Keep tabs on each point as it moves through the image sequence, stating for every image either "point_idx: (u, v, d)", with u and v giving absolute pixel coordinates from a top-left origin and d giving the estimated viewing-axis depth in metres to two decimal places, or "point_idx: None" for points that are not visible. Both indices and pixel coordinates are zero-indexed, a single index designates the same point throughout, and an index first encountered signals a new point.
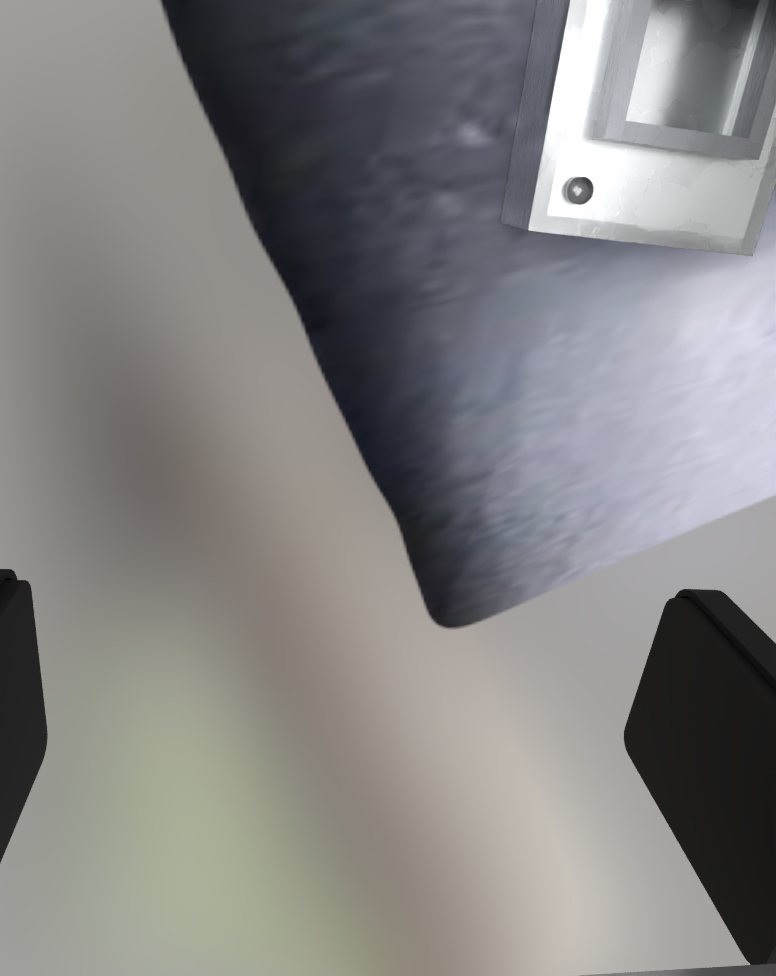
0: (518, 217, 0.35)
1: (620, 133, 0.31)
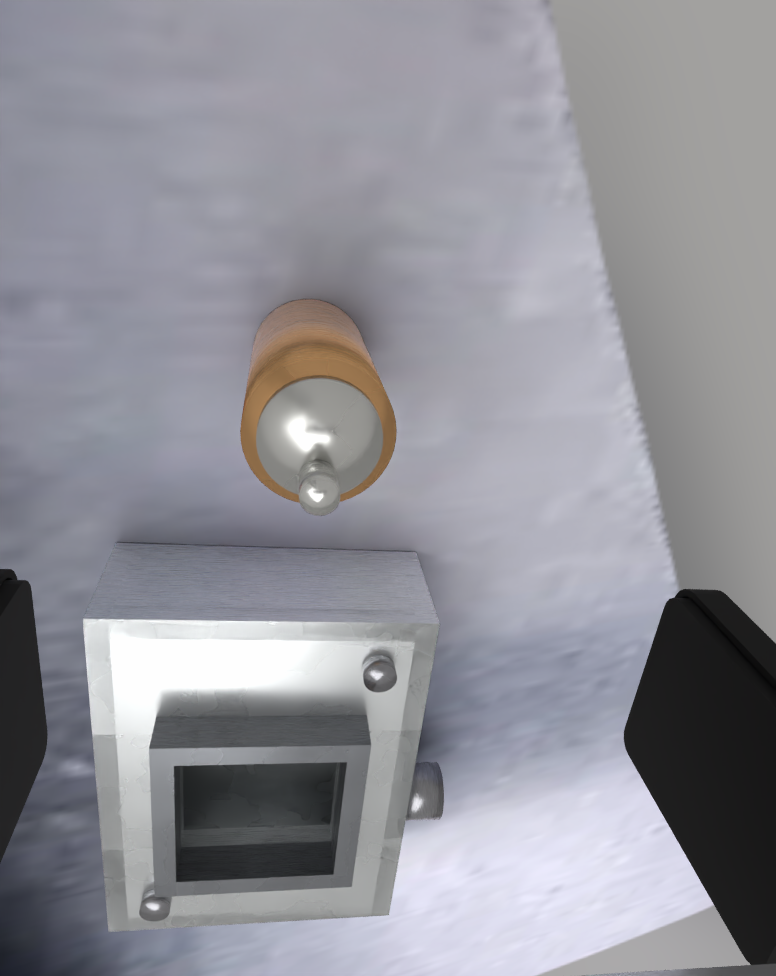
0: None
1: (173, 891, 0.27)
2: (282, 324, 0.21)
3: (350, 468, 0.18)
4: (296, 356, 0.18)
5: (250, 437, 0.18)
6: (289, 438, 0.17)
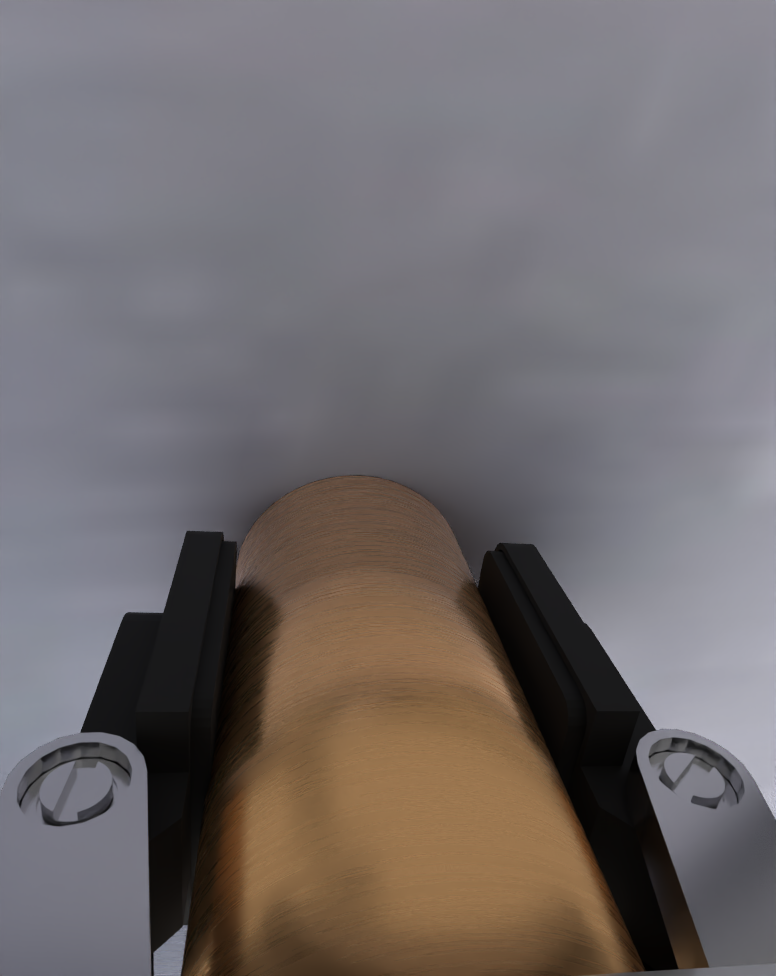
0: None
1: None
2: (299, 592, 0.09)
3: None
4: (357, 916, 0.05)
5: None
6: None
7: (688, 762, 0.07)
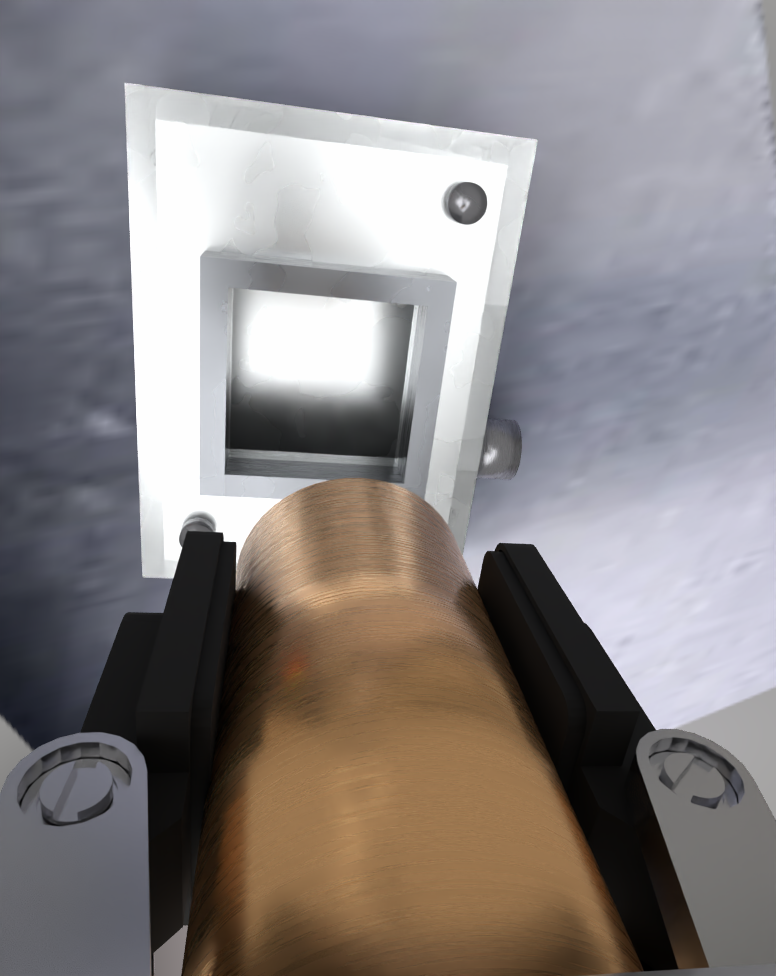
0: None
1: (220, 488, 0.23)
2: (299, 595, 0.09)
3: None
4: (357, 924, 0.05)
5: None
6: None
7: (688, 762, 0.07)
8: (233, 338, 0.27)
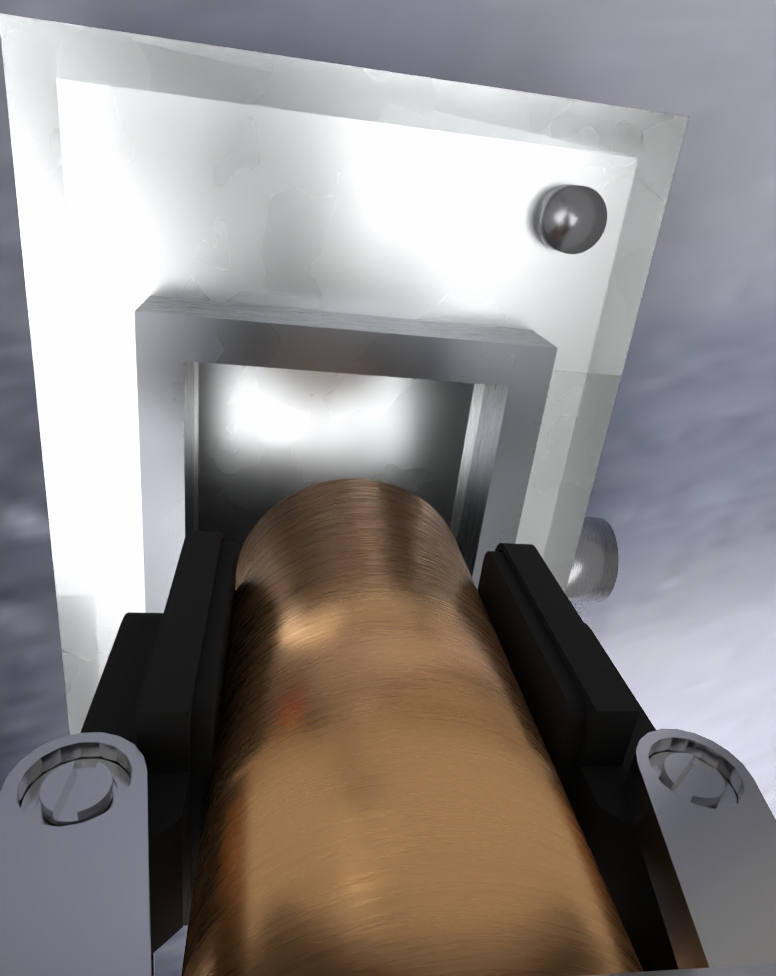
0: None
1: None
2: (299, 596, 0.09)
3: None
4: (357, 925, 0.05)
5: None
6: None
7: (688, 762, 0.07)
8: (206, 408, 0.18)
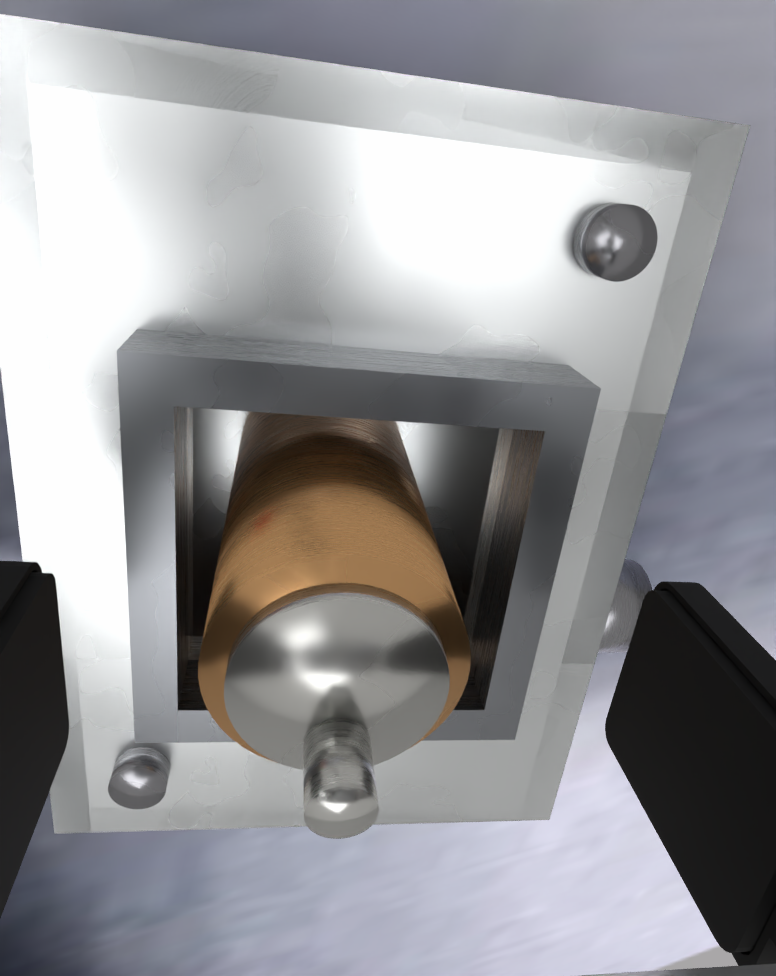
0: None
1: (172, 731, 0.13)
2: (274, 436, 0.14)
3: (393, 726, 0.10)
4: (290, 544, 0.10)
5: (217, 685, 0.10)
6: (284, 692, 0.10)
7: None
8: (202, 443, 0.17)
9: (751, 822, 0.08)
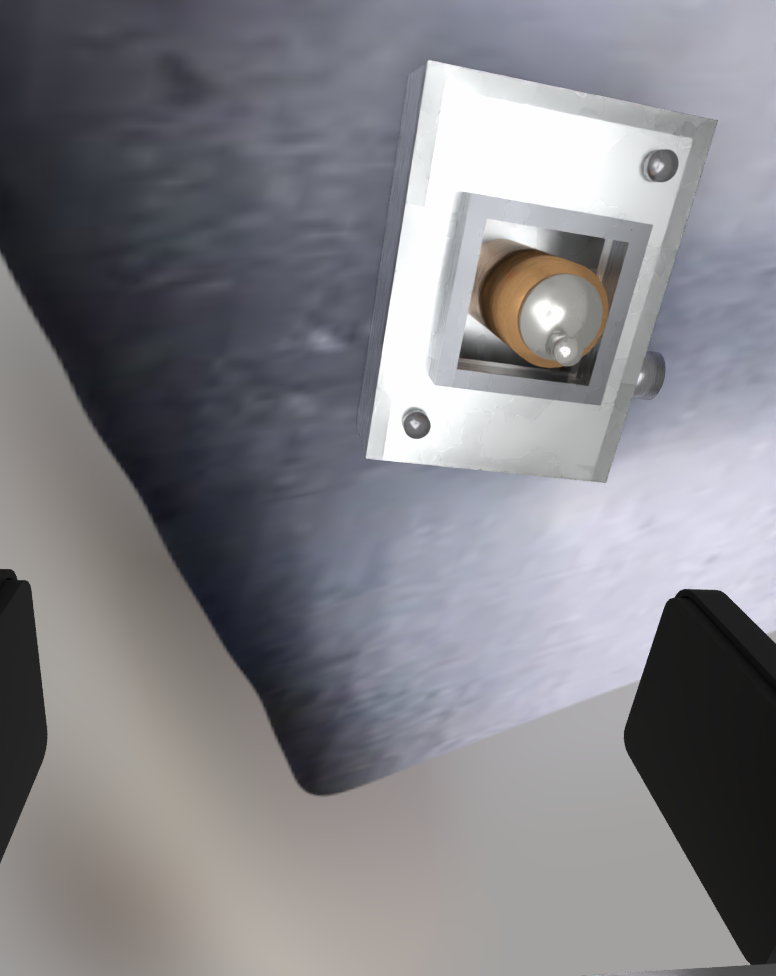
0: (363, 434, 0.34)
1: (451, 380, 0.29)
2: (499, 252, 0.30)
3: (579, 337, 0.27)
4: (542, 262, 0.26)
5: (513, 320, 0.26)
6: (542, 317, 0.26)
7: None
8: None
9: None
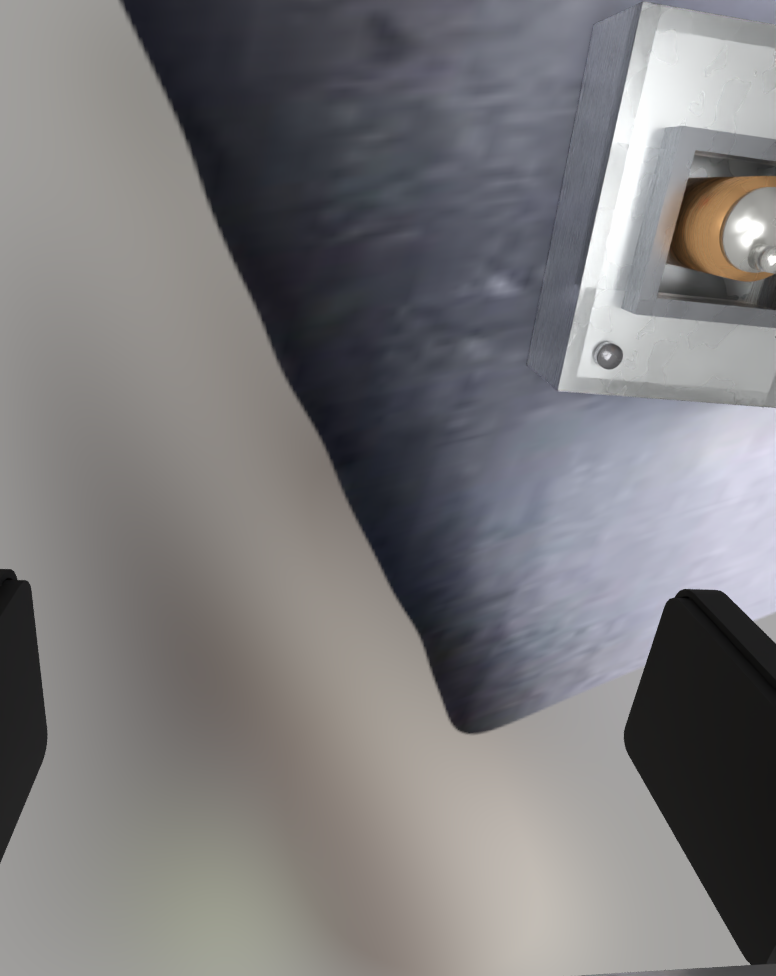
0: (546, 371, 0.35)
1: (651, 309, 0.31)
2: None
3: None
4: (740, 180, 0.28)
5: (715, 237, 0.28)
6: (745, 231, 0.28)
7: None
8: None
9: None
